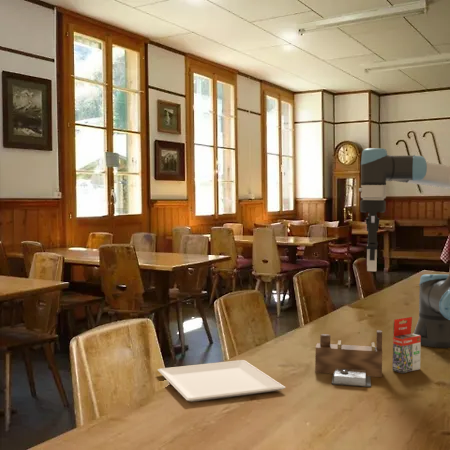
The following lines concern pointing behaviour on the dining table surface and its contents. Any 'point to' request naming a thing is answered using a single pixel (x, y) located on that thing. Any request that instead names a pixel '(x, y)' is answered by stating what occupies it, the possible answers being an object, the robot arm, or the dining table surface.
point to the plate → (219, 380)
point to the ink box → (405, 347)
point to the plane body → (349, 356)
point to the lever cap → (349, 376)
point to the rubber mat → (367, 384)
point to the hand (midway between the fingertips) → (371, 268)
